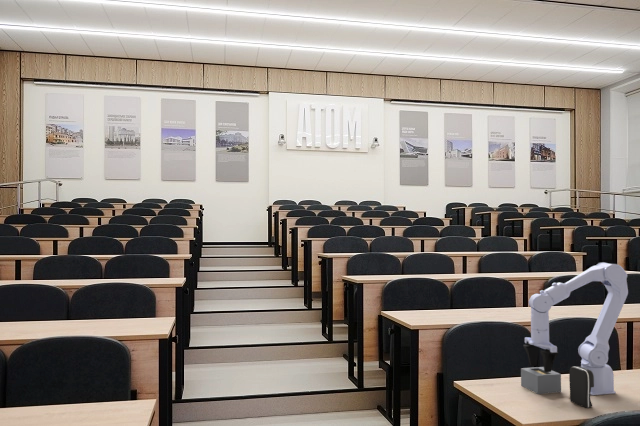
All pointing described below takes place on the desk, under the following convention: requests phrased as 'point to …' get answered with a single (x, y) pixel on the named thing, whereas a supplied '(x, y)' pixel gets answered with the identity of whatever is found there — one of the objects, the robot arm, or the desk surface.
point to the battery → (581, 385)
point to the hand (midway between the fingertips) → (540, 368)
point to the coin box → (540, 380)
